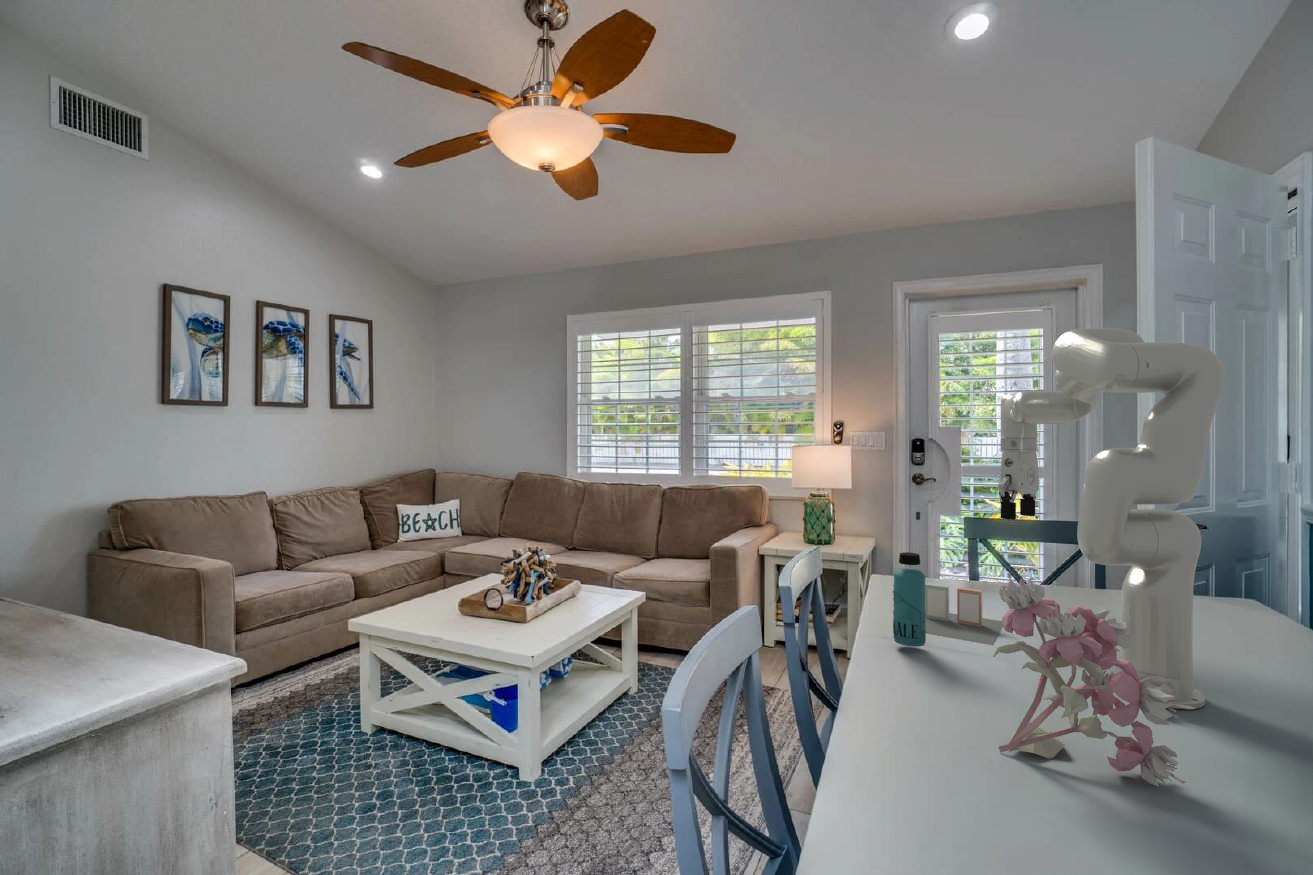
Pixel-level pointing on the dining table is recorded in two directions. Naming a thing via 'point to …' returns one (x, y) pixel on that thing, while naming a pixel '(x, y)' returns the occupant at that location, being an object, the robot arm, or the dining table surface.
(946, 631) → the mat
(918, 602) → the beverage bottle
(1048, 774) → the dining table surface
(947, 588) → the tile
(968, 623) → the tile
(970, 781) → the dining table surface
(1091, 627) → the flower
